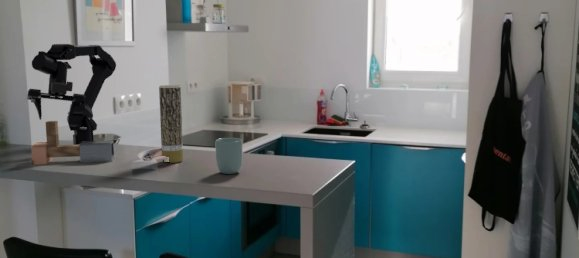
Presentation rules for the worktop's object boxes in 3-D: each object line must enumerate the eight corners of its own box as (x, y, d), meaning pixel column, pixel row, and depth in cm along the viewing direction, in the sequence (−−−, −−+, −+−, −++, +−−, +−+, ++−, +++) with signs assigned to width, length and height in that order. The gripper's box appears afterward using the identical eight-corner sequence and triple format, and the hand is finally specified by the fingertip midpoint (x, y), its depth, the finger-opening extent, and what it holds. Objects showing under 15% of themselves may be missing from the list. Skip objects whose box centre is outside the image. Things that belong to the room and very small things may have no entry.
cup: (229, 169, 179) (228, 136, 178) (248, 172, 174) (247, 139, 173) (211, 173, 173) (210, 140, 172) (229, 176, 168) (228, 142, 167)
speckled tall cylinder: (185, 159, 194) (183, 84, 191) (179, 163, 188) (177, 86, 184) (165, 159, 195) (162, 85, 192) (159, 163, 188) (156, 86, 185)
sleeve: (114, 158, 198) (113, 140, 197) (111, 161, 193) (110, 142, 192) (83, 159, 196) (82, 141, 196) (80, 162, 191) (79, 143, 190)
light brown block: (52, 160, 196) (50, 141, 195) (46, 164, 189) (45, 145, 188) (38, 160, 195) (37, 142, 195) (32, 164, 189) (31, 145, 188)
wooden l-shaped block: (92, 154, 196) (90, 119, 194) (90, 156, 192) (88, 121, 191) (42, 155, 194) (40, 121, 192) (39, 157, 190) (37, 122, 189)
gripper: (31, 68, 196) (27, 113, 193) (88, 75, 204) (85, 119, 201) (28, 76, 206) (25, 119, 203) (84, 83, 214) (81, 124, 211)
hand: (54, 120), depth 204 cm, fingers open, 9 cm apart
